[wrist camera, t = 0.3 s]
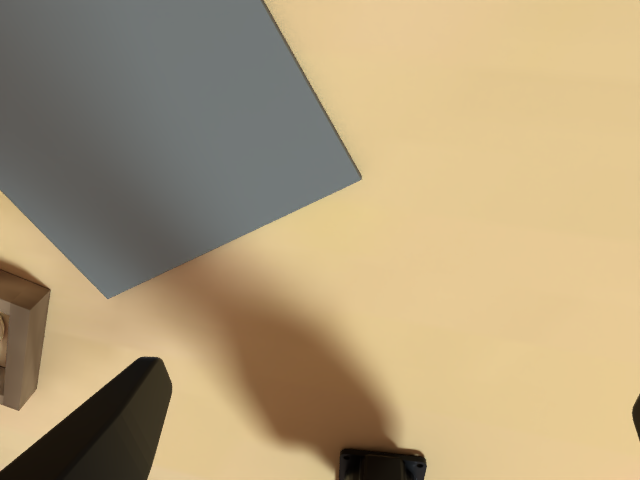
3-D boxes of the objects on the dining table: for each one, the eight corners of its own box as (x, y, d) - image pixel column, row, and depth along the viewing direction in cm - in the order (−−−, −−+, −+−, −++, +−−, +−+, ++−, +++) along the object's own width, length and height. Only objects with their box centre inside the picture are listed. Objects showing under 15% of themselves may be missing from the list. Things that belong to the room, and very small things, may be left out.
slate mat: (361, 176, 22) (361, 179, 22) (111, 295, 28) (107, 299, 28) (109, -275, 14) (103, -280, 14) (-154, 23, 21) (-163, 24, 20)
